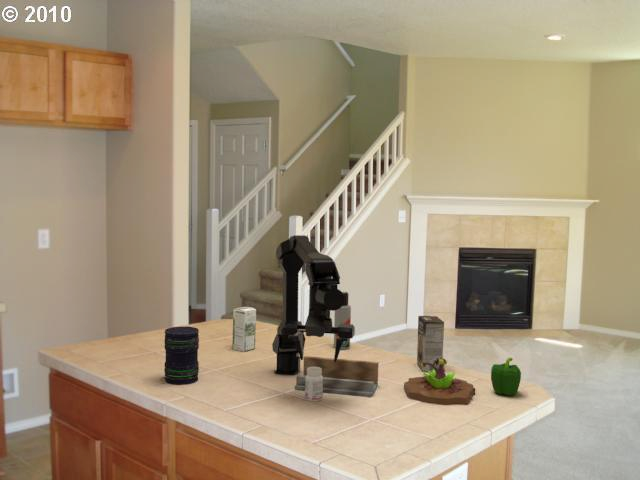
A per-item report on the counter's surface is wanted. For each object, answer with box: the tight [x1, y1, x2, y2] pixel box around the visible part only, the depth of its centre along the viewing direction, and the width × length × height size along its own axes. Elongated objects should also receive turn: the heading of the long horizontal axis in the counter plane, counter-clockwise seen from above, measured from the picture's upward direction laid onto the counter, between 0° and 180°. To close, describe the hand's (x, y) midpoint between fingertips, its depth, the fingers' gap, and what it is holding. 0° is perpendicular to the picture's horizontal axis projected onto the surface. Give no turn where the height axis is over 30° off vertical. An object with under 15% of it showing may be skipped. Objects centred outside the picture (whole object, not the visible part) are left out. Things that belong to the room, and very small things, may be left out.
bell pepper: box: [490, 357, 522, 397], centre depth 194 cm, size 8×8×10 cm
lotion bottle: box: [333, 291, 352, 351], centre depth 243 cm, size 6×6×20 cm
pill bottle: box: [304, 367, 324, 402], centre depth 186 cm, size 5×5×8 cm
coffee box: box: [416, 315, 445, 373], centre depth 219 cm, size 9×6×16 cm
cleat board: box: [294, 355, 379, 398], centre depth 196 cm, size 22×11×7 cm, turn 77°
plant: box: [403, 356, 476, 406], centre depth 193 cm, size 20×20×11 cm
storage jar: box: [163, 326, 200, 386], centre depth 200 cm, size 10×10×15 cm
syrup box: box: [232, 306, 257, 353], centre depth 237 cm, size 6×6×14 cm
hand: (318, 360), depth 186 cm, fingers open, 9 cm apart
